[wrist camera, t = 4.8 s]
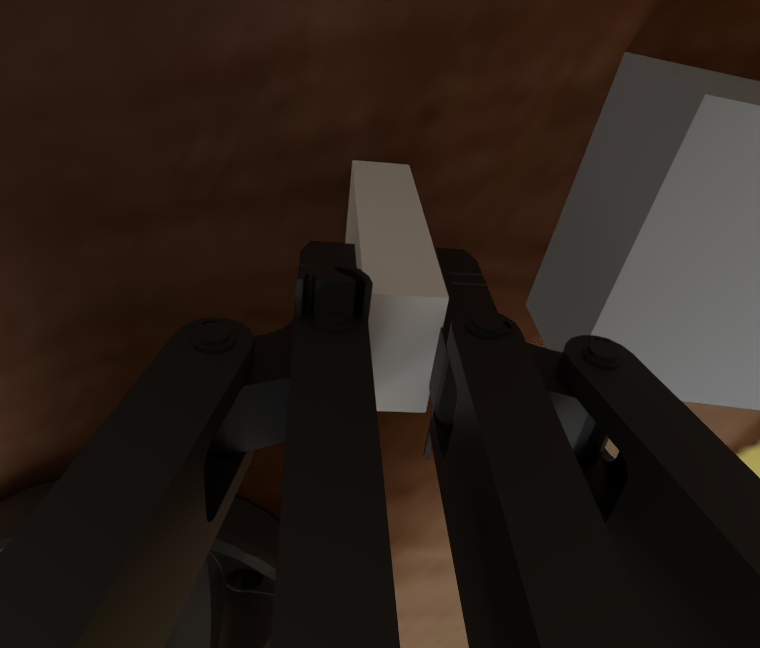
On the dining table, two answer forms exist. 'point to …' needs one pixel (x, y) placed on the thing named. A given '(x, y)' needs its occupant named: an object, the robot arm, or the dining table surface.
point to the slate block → (665, 232)
